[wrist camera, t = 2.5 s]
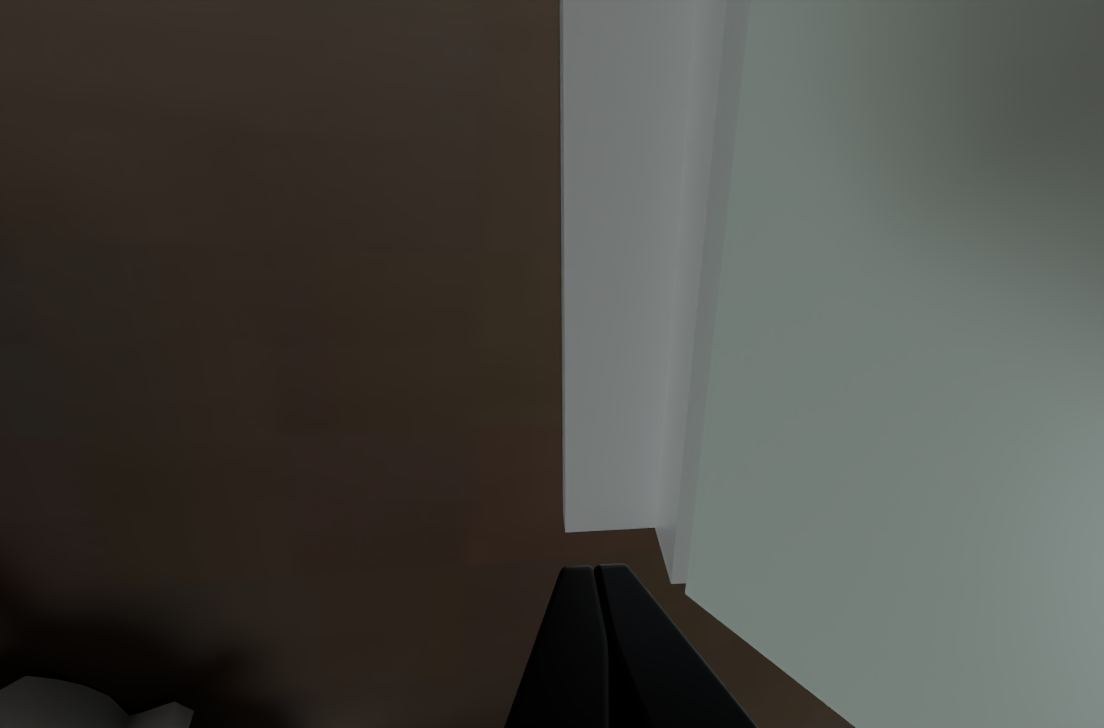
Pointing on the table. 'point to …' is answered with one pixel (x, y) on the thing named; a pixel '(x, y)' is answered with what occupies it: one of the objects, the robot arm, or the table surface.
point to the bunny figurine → (77, 708)
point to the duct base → (642, 252)
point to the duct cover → (914, 362)
